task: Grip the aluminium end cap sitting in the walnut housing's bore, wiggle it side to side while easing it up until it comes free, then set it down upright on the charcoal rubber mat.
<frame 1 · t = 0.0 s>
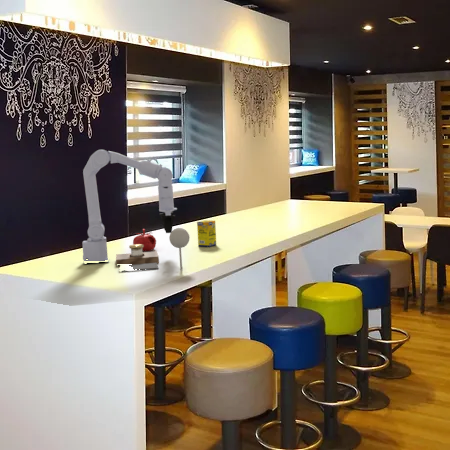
hand: (168, 231, 245), 10 cm above the table, tool pointing down, fingers open, 7 cm apart
lollipop: (181, 270, 219), on the table
supplement box: (207, 246, 268), on the table
mat: (138, 268, 226), on the table
housing: (137, 261, 238), on the table
end cap: (136, 253, 238), in the housing
pomegranate: (145, 250, 264), on the table
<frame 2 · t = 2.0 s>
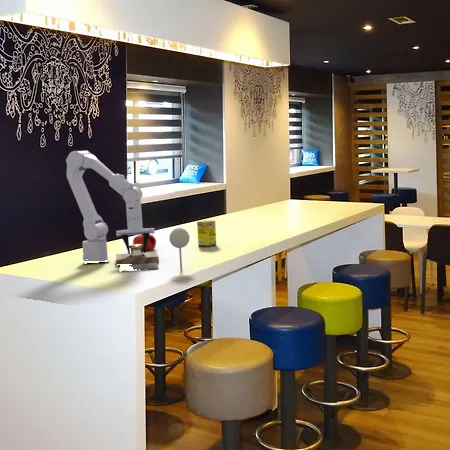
hand: (136, 253, 238), 3 cm above the table, tool pointing down, fingers closed on end cap, 5 cm apart
end cap: (136, 253, 238), in the housing, touching gripper
everything else where it was.
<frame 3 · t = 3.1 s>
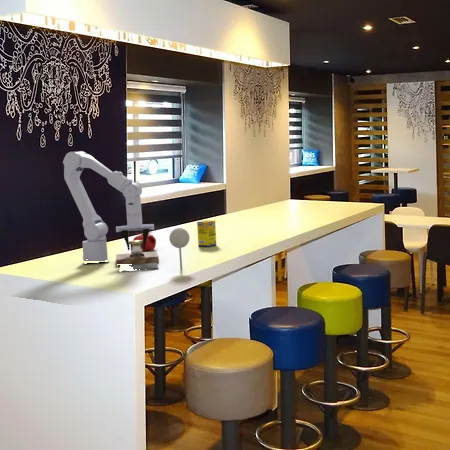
hand: (136, 249, 238), 5 cm above the table, tool pointing down, fingers closed on end cap, 5 cm apart
end cap: (136, 249, 238), point 5 cm above the table, touching gripper
everything else where it was.
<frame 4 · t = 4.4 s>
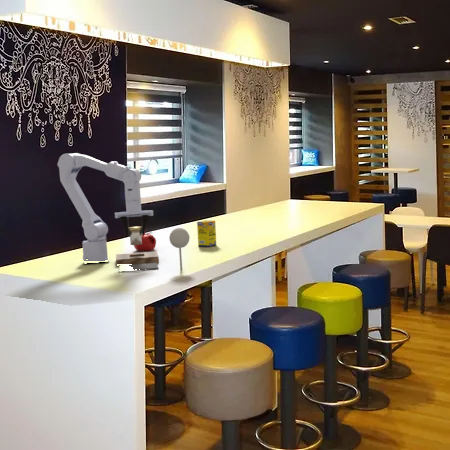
hand: (135, 235, 237), 10 cm above the table, tool pointing down, fingers closed on end cap, 5 cm apart
end cap: (135, 235, 237), point 10 cm above the table, touching gripper
everything else where it was.
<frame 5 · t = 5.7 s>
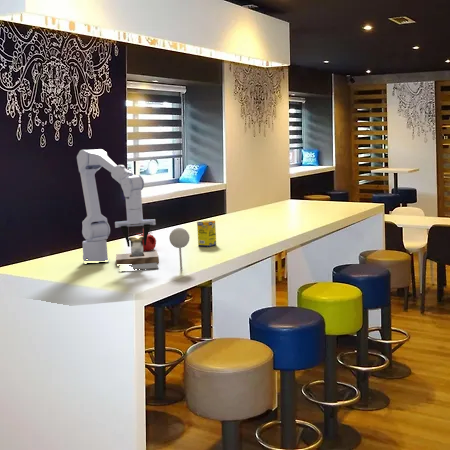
hand: (136, 245, 224), 8 cm above the table, tool pointing down, fingers closed on end cap, 5 cm apart
end cap: (136, 246, 225), point 8 cm above the table, touching gripper
everything else where it was.
when the fingers open (5 cm above the table, at t = 6.8 s): end cap drops 1 cm, resting on mat.
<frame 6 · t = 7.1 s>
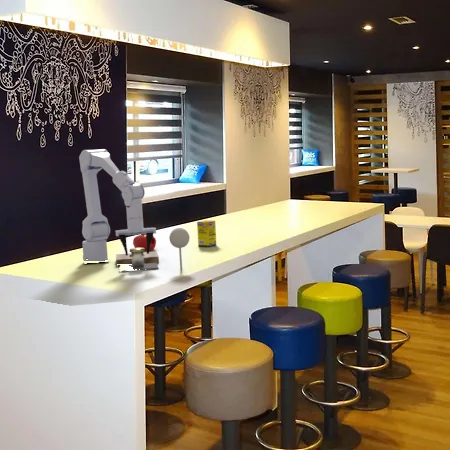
hand: (137, 254, 225), 5 cm above the table, tool pointing down, fingers open, 7 cm apart
end cap: (137, 257, 225), on the mat, point 4 cm above the table
everything else where it was.
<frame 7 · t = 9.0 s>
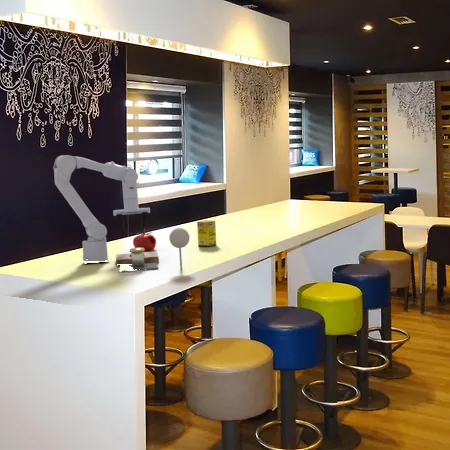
hand: (133, 231, 247), 10 cm above the table, tool pointing down, fingers open, 7 cm apart
nothing on the table moved.
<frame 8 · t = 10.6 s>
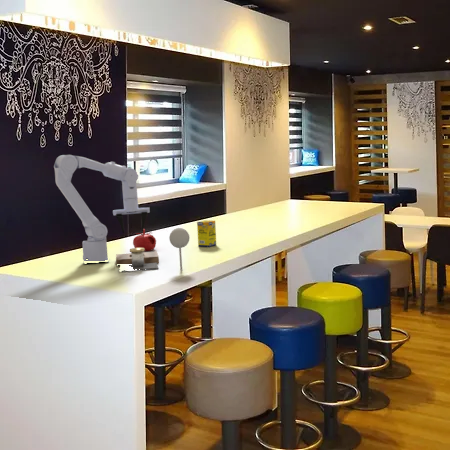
hand: (133, 231, 248), 10 cm above the table, tool pointing down, fingers open, 7 cm apart
nothing on the table moved.
at the end: end cap inside the target area on the mat (0.4 cm from its centre), point 3.9 cm above the mat's base; end cap tilted 0°; the gripper is holding nothing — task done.
